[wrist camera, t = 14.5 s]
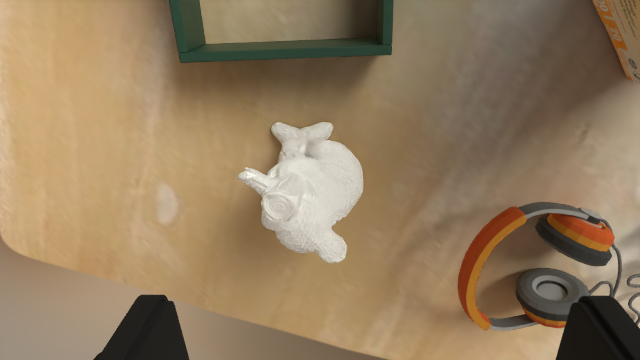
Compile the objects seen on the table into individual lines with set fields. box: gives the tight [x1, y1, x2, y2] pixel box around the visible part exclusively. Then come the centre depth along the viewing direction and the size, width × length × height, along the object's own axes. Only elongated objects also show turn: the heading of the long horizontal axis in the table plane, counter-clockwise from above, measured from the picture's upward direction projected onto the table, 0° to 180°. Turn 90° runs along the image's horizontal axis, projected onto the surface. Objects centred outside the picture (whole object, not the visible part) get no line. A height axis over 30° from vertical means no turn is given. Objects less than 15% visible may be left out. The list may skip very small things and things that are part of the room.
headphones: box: [458, 202, 640, 331], centre depth 33 cm, size 17×5×20 cm
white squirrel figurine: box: [238, 122, 363, 263], centre depth 27 cm, size 8×7×12 cm
